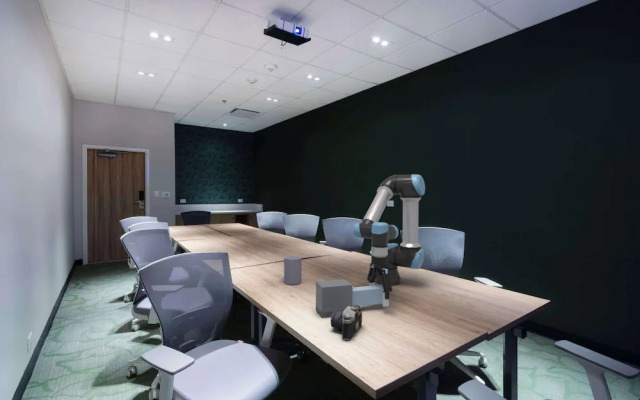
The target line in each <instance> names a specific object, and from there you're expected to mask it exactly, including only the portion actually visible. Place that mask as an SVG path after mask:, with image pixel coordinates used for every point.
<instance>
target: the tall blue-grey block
mask: <svg viewBox="0 0 640 400" xmlns="http://www.w3.org/2000/svg"><path fill="white" fill-rule="evenodd" d="M383 291H384V289H383V286H382V284H378V285H376V284H375V286H369V285H366V286H356V287H355V286H353V291H352V307H353V305H358V306H360V307H362V306H363V307H364V306H371V305H381V304H382V305H383Z"/></svg>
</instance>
